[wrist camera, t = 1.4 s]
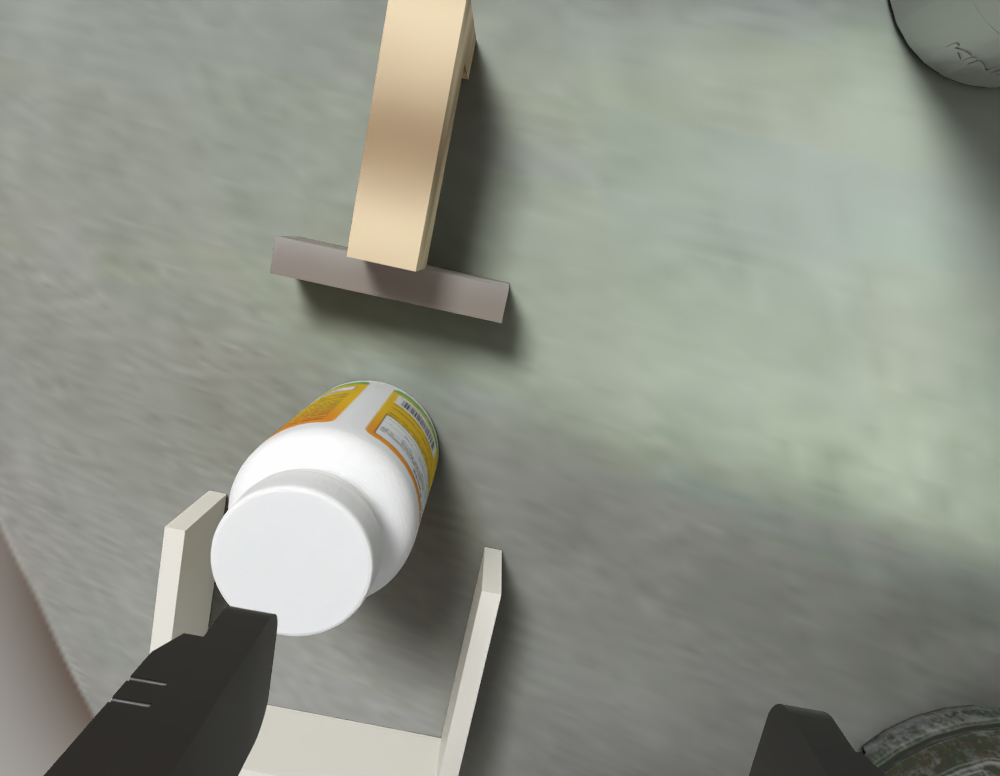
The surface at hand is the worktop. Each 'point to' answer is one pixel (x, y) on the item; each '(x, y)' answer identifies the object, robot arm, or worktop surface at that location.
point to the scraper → (404, 172)
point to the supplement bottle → (327, 508)
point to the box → (311, 737)
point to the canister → (940, 744)
